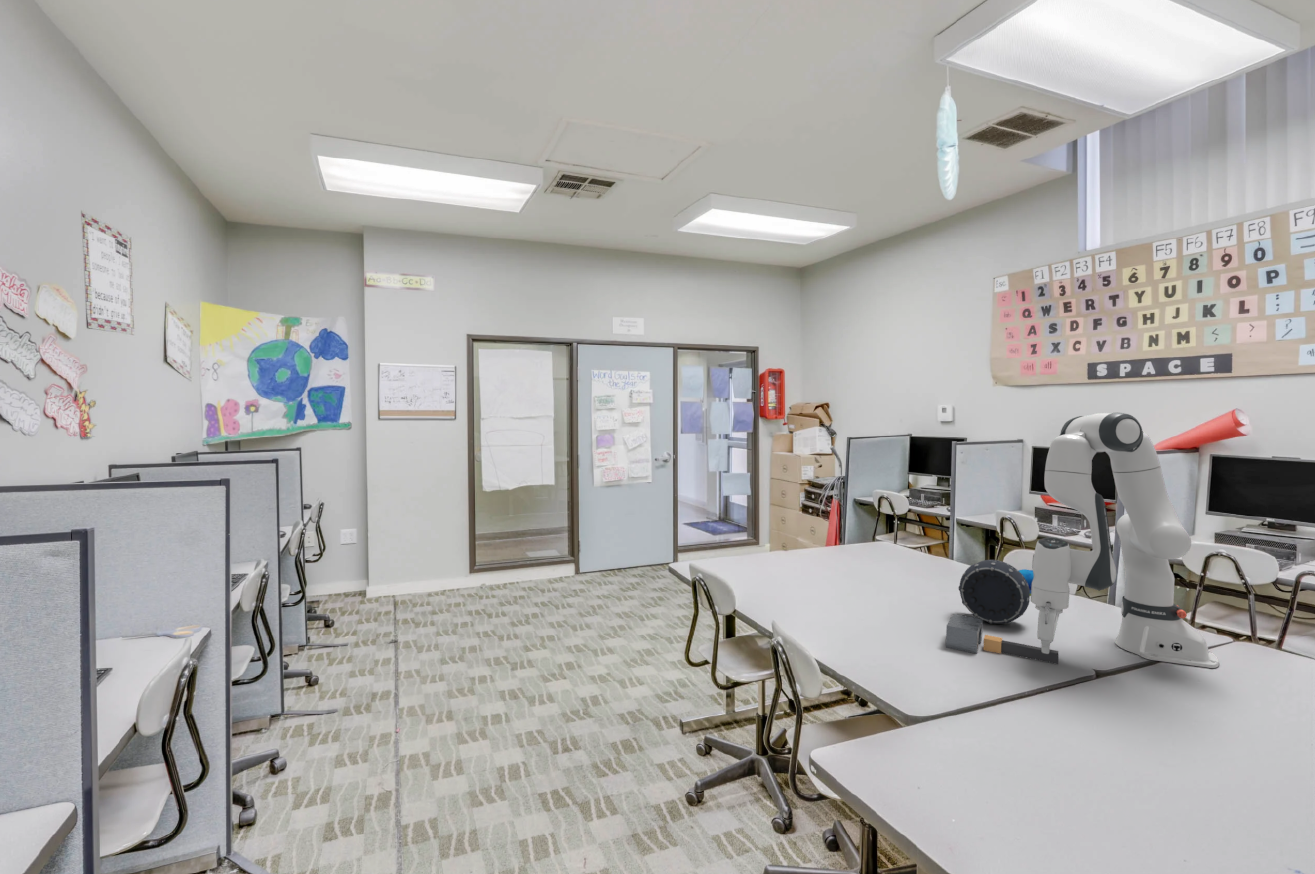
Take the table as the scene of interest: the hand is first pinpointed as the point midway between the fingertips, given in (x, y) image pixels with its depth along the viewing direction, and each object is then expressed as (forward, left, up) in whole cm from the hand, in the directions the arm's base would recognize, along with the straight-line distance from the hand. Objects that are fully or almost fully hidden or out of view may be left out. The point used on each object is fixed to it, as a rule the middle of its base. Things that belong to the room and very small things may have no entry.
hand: (1046, 647), depth 167 cm
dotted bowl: (+15, -26, -4) cm, 30 cm away
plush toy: (+8, -71, -4) cm, 72 cm away
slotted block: (+20, 0, -4) cm, 21 cm away
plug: (+6, 0, -4) cm, 7 cm away
